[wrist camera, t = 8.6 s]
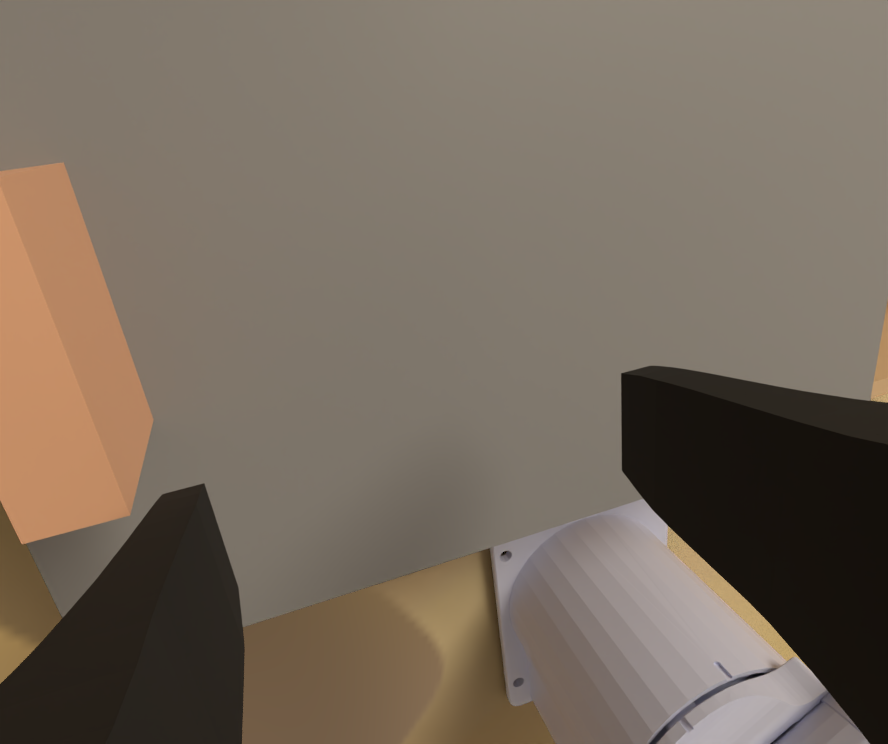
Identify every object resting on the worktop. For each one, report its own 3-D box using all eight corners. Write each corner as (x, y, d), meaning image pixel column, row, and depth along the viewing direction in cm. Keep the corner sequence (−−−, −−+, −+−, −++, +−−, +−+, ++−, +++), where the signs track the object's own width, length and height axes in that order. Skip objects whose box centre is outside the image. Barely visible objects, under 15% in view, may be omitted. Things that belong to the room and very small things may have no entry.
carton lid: (849, 419, 20) (985, 483, 17) (95, 656, 15) (52, 829, 11) (955, -254, 14) (1222, -394, 10) (-345, -271, 8) (-804, -589, 4)
